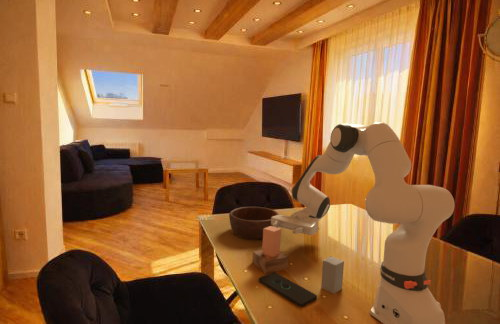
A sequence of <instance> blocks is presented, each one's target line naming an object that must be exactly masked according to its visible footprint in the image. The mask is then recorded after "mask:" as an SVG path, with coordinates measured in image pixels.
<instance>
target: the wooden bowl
mask: <svg viewBox="0 0 500 324" xmlns="http://www.w3.org/2000/svg"><path fill="white" fill-rule="evenodd" d="M228 215H229V216H228V217H229V224H230V228H231V230H232V232H233V233H234V235H235V236H237V237H238V238H241V239H245V240H250V241H251V240H252V241H253V240H254V241H258V240H262V241H263V229H264V228H266V227H269V226H273V225H271V217H273V216H276V215H280V213H279V212H277V210H274V209H273V208H267V207H263V206H262V207H261V206H243V207H242V206H241V207H238V208H237V207H236V208H234V209H232V210H230V212H229V213H228Z"/></svg>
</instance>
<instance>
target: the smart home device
mask: <svg viewBox="0 0 500 324" xmlns="http://www.w3.org/2000/svg"><path fill="white" fill-rule="evenodd" d="M258 283H260V284H262V285H264V286H265V287H267V288H268V289H270V290H272V291H273V292H274V293H276V294H278V295H279V296H282V297H283V298H285V299H286V300H288V301H289V302H290V303H293V304H294V305H296V306H298V307H299V308H303V307H305V306H307V305H309V304H311V303H313V302H314V301H316V300H317V299H318V296H317V294H315V293H314V292H311V291H310V290H308V289H306V288H304V287H303V286H301V285H299V284H297V283H295V282H294V281H292V280H290V279H288V278H286V277H284V276H283V275H281V274H279V273H277V272H276V271H274V272H270V273H267V274H265V275H263V276H260V277H258Z"/></svg>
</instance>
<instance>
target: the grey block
mask: <svg viewBox="0 0 500 324" xmlns="http://www.w3.org/2000/svg"><path fill="white" fill-rule="evenodd" d="M344 265H345V261H344V260H342V259H340V258H337V257H335V256H328V257H327V258H325V259H323V260H322V270H321V271H322V272H321V282H320V283H321V284H320V288H321V289H323V290H325V291H327V292H329V293H331V294H336V293H338V292H339V291H340V290H343V279H344V268H345V267H344Z"/></svg>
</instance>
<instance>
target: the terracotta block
mask: <svg viewBox="0 0 500 324" xmlns="http://www.w3.org/2000/svg"><path fill="white" fill-rule="evenodd" d="M281 239H282V228H281V227H278V228H276V227H273V226H269V227H266V228H264V229H263V239H262V246H261V248H262V249H261V250H262V254H264V255H267V256H270V257H274V256H276V255H278V254H280V252H281V244H282V243H281V242H282V241H281Z"/></svg>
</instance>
